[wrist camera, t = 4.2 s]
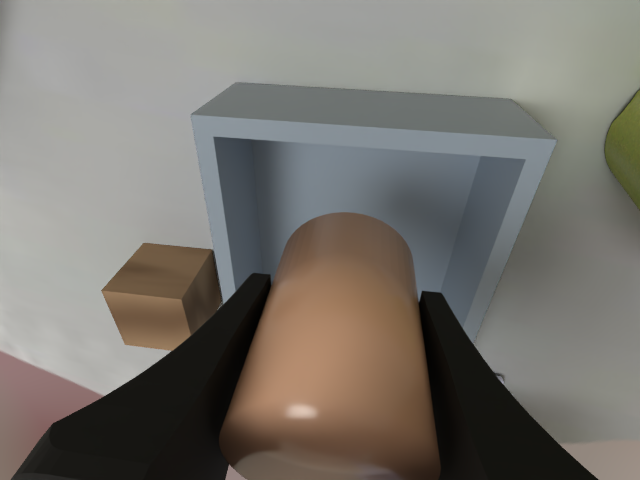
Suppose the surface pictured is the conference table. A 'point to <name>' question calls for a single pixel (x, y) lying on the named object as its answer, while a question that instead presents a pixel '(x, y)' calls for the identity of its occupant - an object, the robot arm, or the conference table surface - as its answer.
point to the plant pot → (626, 149)
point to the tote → (371, 178)
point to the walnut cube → (163, 295)
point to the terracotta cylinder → (336, 363)
